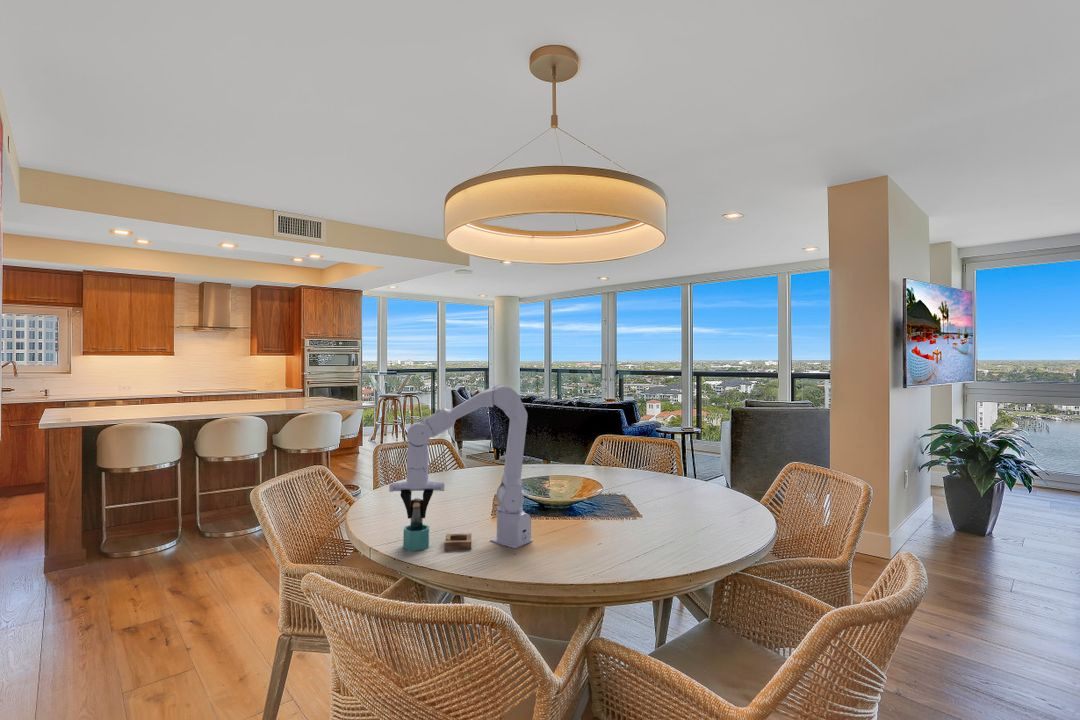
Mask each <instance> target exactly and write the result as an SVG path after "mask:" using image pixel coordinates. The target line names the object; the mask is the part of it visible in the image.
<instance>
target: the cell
mask: <svg viewBox="0 0 1080 720" xmlns="http://www.w3.org/2000/svg"><path fill="white" fill-rule="evenodd" d="M422 512H423V498H422V499H421V498H418V497H417V498H413V499H411V518H410V525H411V526H410V529H411V530H421V529H422V528H423V524H424V523H423V521H424V518H422Z"/></svg>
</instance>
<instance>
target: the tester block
mask: <svg viewBox="0 0 1080 720" xmlns="http://www.w3.org/2000/svg"><path fill="white" fill-rule="evenodd" d="M444 550H445V551H447V550H448V551H455V550H457V551H458V550H460V551H461V550H472V533H446V534H445V541H444Z"/></svg>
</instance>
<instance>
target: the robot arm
mask: <svg viewBox="0 0 1080 720" xmlns="http://www.w3.org/2000/svg"><path fill="white" fill-rule="evenodd" d="M494 406H495V407H497V408H499V409H500V410H502V412H503V413H504V414H505V415H506V417H508V419H509V423H508V433H507V440H506V441H507V442H506V443H507V444H506V449H505V450H506V452H505V460H504V468H503V474H502V477H501V479H500V484H499V486H498V488H497V490H496V497H497V500H498V502H499V504H498V506H497V507H496V536H495V537H492V538H489V541H490V542H492V543H495V544H498V545H502V546H506V547H509V548H513V549H517V548H519V547H522V546H525V545H527V544H530V543H531V542H533V541H534V540H533V539H532V518H531V516H530V514H528V513H526V512H525V511H524V510H523V505H524V504H525V503H524V502H525V497H524V494H523V483H522V470H523V461H524V460H523V459H524V451H525V444H526V443H525V442H526V435H527V434H526V432H527V425H528V412H527V410H526V408H525V406H524V404H523V401H522V400H521V395H520V394H518V392H517V391H516V390H515V389H514V388H512V387H510V386H507V385H505V384H504V385H503V384H496V385H494V386H492V388H486V389H484V390H482V391H481V392H478V393H476V394H475V395H473V396H471V397H470V398H468V399H466V400H465V401H462V403H460V404H458V405H456V406H455V407H453V408H451V409H449V408H445V407H443V408H441V409H440V408H436V409H435V412H434V413H432V414H430V415H428V416H427V417H425V418H424V417H421V418H420V419H419V421H420V422H419V421H418V422H414V423H412V424H411V425H410V426H409V427H408V429H407V433H406V436H407V439H408V443H407V451H406V481H403V482H390V483H389V485H388V486H389V487H388V489H389V490H388V491H389V493H390V492H391V493H393V492H400V498H401V499H402V502H403V504H404V507H405V510H406V515H407V519H410V520H411V500H412V493H413V492H415V491H417V492H418V491H419V492H422V491H423V492H422V500H423V512H422V518H423V519H426V515H427V514H426V513H427V509H428V505H429V503H430V500H431V499H432V496H433V494H434V491H436V492H437V491H439V492H445V484H446V483H445V481H443V482H442V481H441V482H437V481H429V455H430V454H429V453H430V451H429V448H428V446H429V445H428V444H429V442H430V441H429V440H430V438H435V437H437V436H438V435H441V434H442V433H444V432H446V431H447V430H450V429H451V428H453V427H454V426H455V423H456V420H458V419H460V418H462V417H464V416H467V415H469V414H471V413H472V412H474V411H476V410H478V409H480V408H482V407H483V408H494Z"/></svg>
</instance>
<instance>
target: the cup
mask: <svg viewBox="0 0 1080 720" xmlns="http://www.w3.org/2000/svg"><path fill="white" fill-rule="evenodd" d="M410 526H411V524H409V525H406V526H404V528H403V536H402V537H403V538H402V539H403V540H402V541H403V542H402V543H403V544H402V546H403V548H402V549H403V550H407V551H414V552H416V551H423V550H425V549H428V548H429V547H430V546H429V545H430V525H428V524H424V523H423V528H422V529H421V530H411V529H410Z"/></svg>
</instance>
